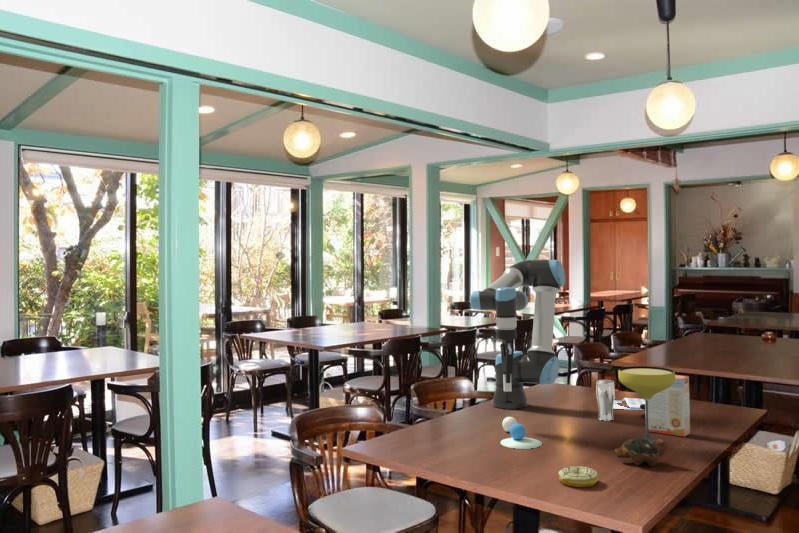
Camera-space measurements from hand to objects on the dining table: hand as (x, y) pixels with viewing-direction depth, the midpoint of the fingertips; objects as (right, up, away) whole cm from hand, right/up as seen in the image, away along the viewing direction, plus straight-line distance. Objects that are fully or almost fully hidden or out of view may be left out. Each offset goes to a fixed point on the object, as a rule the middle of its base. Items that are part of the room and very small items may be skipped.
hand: (507, 391), depth 245 cm
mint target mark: (+1, -14, -21) cm, 25 cm away
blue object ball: (+1, -11, -16) cm, 20 cm away
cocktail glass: (+43, -13, -25) cm, 52 cm away
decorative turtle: (+34, -14, -45) cm, 58 cm away
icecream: (+60, -13, +7) cm, 62 cm away
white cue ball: (0, -11, -6) cm, 12 cm away
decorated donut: (+10, -15, -61) cm, 63 cm away
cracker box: (+56, -13, -11) cm, 58 cm away
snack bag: (+57, -13, +34) cm, 68 cm away
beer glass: (+40, -13, +10) cm, 43 cm away
